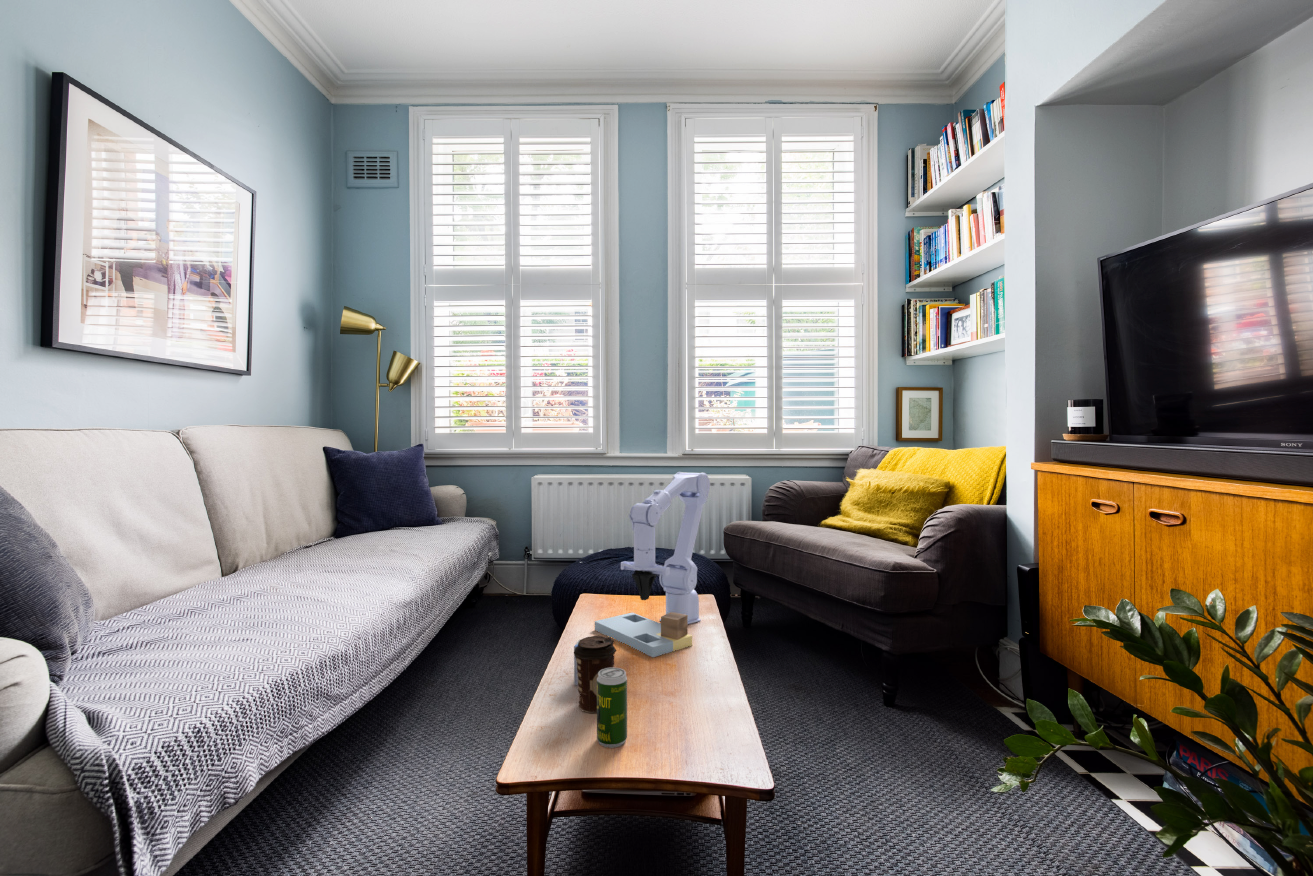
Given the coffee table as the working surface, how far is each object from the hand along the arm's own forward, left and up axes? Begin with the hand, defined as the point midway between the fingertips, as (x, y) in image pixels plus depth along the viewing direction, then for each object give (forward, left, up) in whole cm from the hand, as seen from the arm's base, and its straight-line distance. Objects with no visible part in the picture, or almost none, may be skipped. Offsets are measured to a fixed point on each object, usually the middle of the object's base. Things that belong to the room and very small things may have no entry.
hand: (644, 599), depth 156 cm
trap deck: (0, -1, -10) cm, 10 cm away
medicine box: (+26, +15, -11) cm, 32 cm away
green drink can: (+37, +38, -11) cm, 54 cm away
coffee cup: (+32, +25, -11) cm, 42 cm away
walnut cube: (-3, +9, -8) cm, 12 cm away
